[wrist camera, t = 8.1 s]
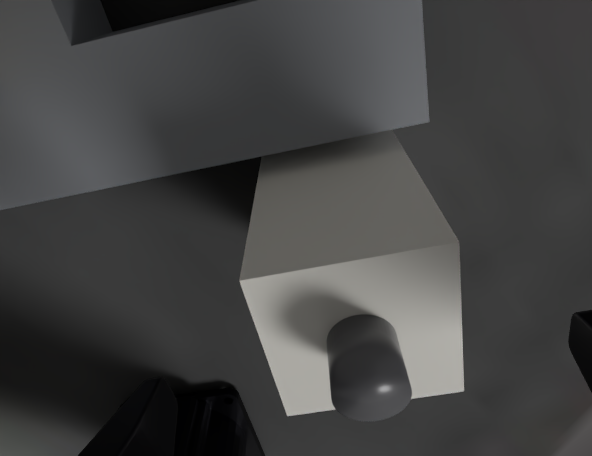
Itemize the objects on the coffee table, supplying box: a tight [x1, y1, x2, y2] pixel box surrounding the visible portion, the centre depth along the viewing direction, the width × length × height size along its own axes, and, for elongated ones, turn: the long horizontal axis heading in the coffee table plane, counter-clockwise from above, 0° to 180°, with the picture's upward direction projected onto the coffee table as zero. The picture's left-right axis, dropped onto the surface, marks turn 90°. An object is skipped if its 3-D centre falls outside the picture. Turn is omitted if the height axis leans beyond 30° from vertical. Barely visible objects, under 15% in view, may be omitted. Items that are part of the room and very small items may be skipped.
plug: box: [239, 130, 464, 422], centre depth 13 cm, size 4×4×10 cm
